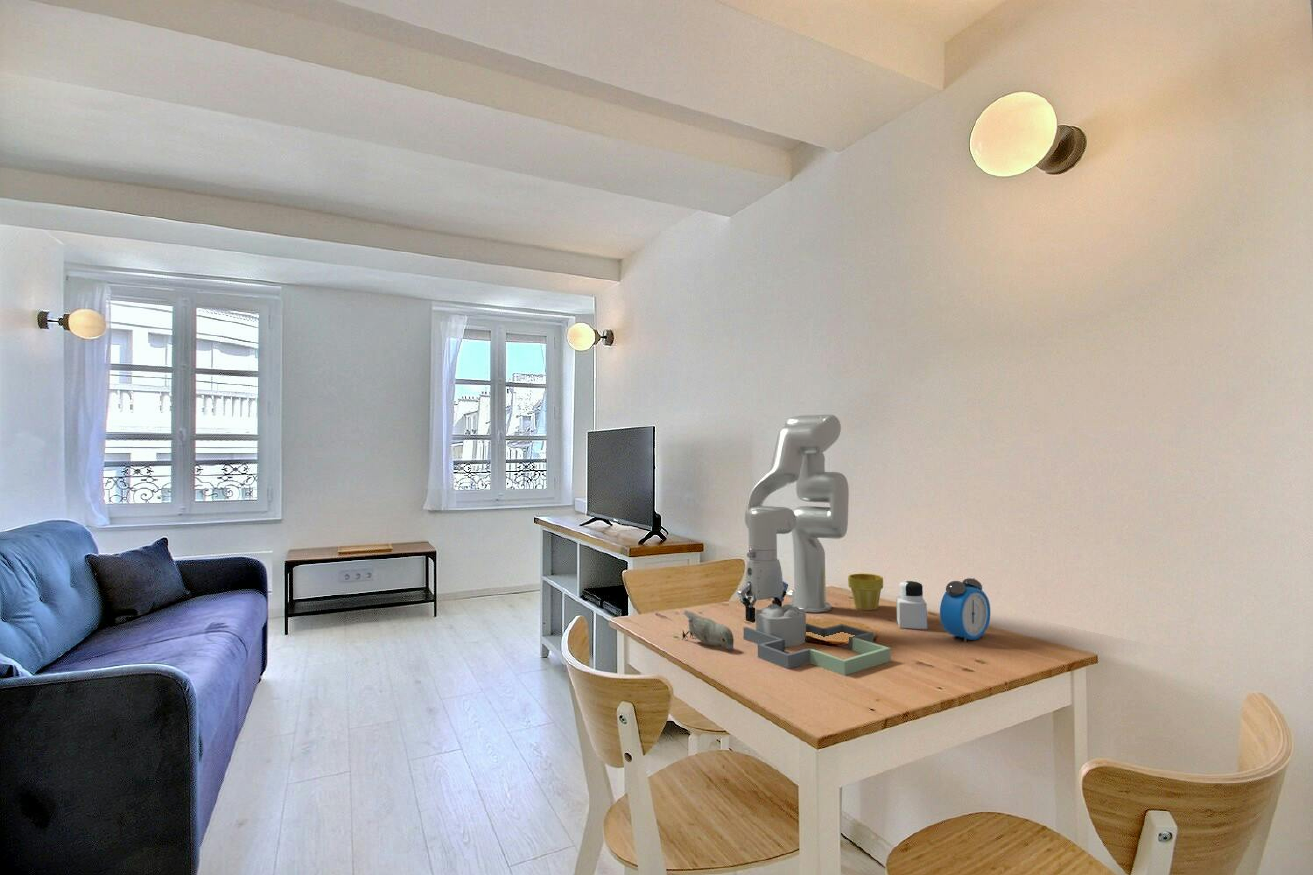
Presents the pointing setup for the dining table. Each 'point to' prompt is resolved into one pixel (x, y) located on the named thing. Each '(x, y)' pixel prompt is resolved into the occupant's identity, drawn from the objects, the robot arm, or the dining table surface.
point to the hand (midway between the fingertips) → (764, 618)
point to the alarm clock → (965, 609)
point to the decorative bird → (709, 631)
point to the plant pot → (865, 590)
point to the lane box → (861, 643)
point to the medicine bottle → (911, 606)
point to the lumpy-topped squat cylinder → (783, 623)
